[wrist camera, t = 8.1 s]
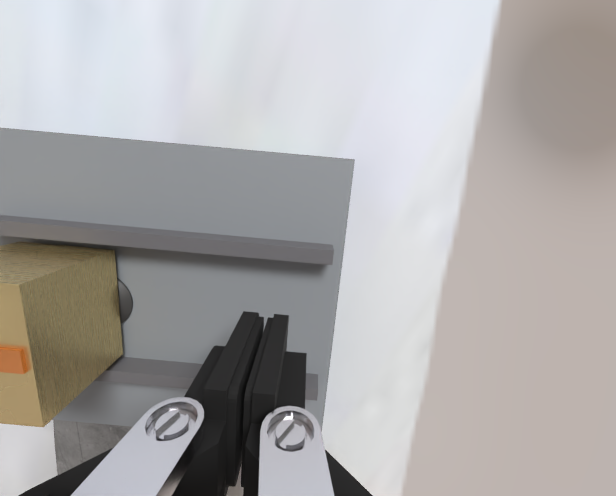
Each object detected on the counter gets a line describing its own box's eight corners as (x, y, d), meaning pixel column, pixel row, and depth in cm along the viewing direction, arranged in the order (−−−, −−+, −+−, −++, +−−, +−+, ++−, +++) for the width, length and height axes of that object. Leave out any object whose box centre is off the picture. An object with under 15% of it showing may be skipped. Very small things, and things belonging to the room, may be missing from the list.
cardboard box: (123, 353, 13) (39, 430, 9) (37, 345, 13) (-83, 419, 9) (114, 249, 12) (14, 286, 8) (19, 241, 12) (-127, 273, 8)
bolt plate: (319, 419, 16) (322, 576, 10) (-51, 386, 16) (-287, 521, 10) (350, 161, 13) (385, 146, 6) (-121, 119, 13) (-554, 62, 6)
